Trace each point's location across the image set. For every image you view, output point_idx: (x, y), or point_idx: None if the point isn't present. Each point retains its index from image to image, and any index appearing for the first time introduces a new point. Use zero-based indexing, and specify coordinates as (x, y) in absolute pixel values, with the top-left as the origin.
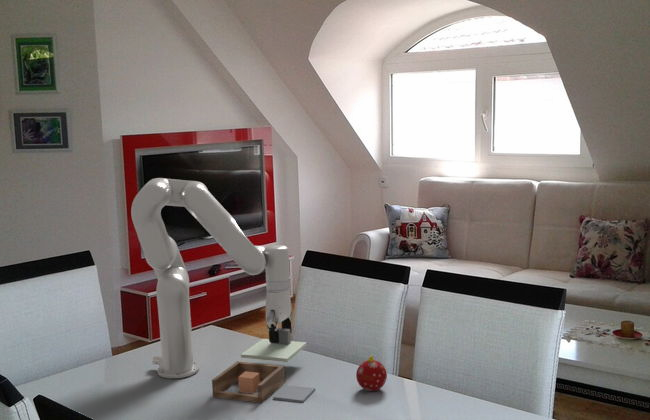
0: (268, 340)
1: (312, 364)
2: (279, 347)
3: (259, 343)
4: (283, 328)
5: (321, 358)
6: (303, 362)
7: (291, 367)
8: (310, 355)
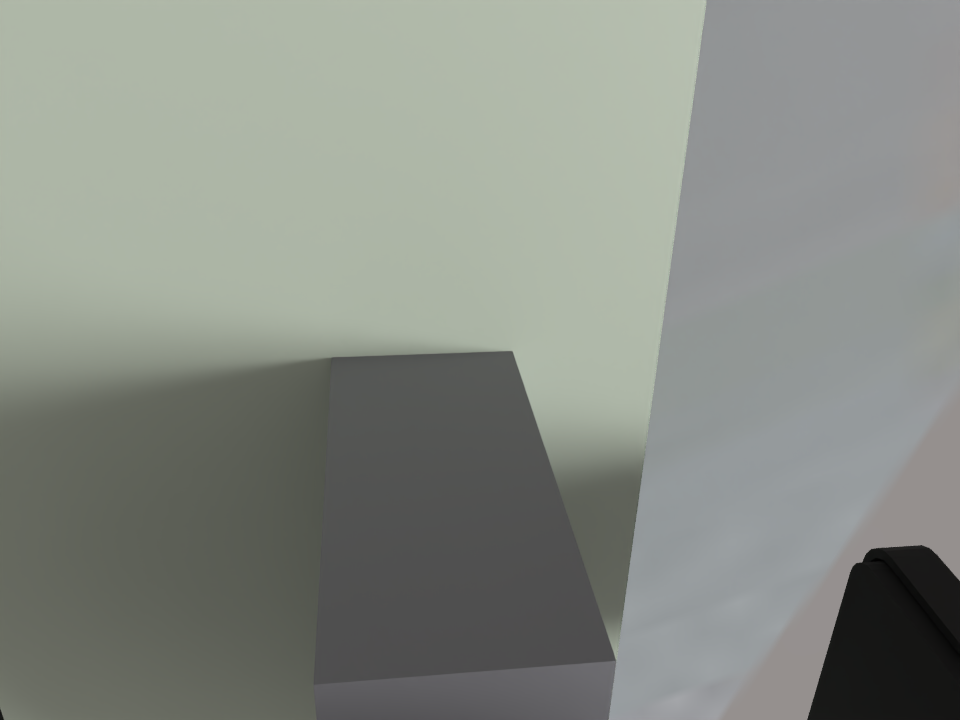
0: (566, 175)
1: None
2: (116, 660)
3: (203, 5)
4: (922, 701)
5: (666, 711)
6: None
7: None
8: (761, 573)
